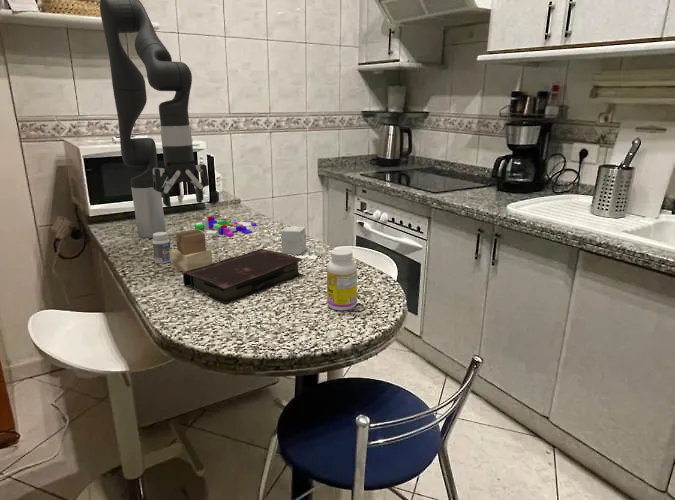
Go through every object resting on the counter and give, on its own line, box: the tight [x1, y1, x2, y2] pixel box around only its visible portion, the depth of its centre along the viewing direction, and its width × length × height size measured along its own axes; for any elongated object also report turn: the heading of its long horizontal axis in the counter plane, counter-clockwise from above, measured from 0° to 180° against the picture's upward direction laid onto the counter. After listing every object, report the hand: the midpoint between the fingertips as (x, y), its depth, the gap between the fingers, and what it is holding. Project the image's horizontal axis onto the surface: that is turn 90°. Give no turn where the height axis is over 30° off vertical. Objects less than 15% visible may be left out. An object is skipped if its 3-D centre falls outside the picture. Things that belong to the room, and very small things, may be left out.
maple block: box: [170, 247, 213, 273], centre depth 128 cm, size 8×8×5 cm
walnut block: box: [175, 228, 207, 255], centre depth 127 cm, size 6×6×5 cm
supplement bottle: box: [326, 247, 358, 312], centre depth 101 cm, size 7×7×13 cm
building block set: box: [194, 215, 258, 238], centre depth 169 cm, size 25×20×4 cm
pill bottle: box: [151, 231, 172, 264], centre depth 132 cm, size 5×5×8 cm
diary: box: [182, 248, 304, 304], centre depth 118 cm, size 19×25×5 cm
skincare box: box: [280, 225, 307, 255], centre depth 140 cm, size 6×6×7 cm
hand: (184, 204), depth 124 cm, fingers open, 8 cm apart
